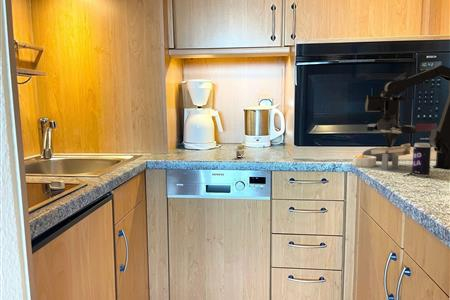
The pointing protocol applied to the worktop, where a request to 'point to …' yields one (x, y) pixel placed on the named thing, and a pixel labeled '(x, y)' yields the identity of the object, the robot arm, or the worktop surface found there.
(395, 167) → the launcher base
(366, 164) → the beige round puck
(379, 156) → the perforated stone tool
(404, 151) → the wooden tray
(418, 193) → the worktop surface
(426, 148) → the beverage can
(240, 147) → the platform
